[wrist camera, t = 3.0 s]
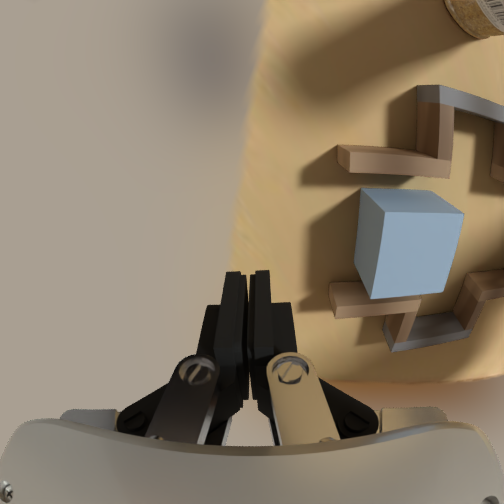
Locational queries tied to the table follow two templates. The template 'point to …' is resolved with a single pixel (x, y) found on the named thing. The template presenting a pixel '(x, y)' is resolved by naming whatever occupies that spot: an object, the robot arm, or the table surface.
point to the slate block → (405, 241)
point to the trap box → (429, 165)
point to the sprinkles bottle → (478, 16)
